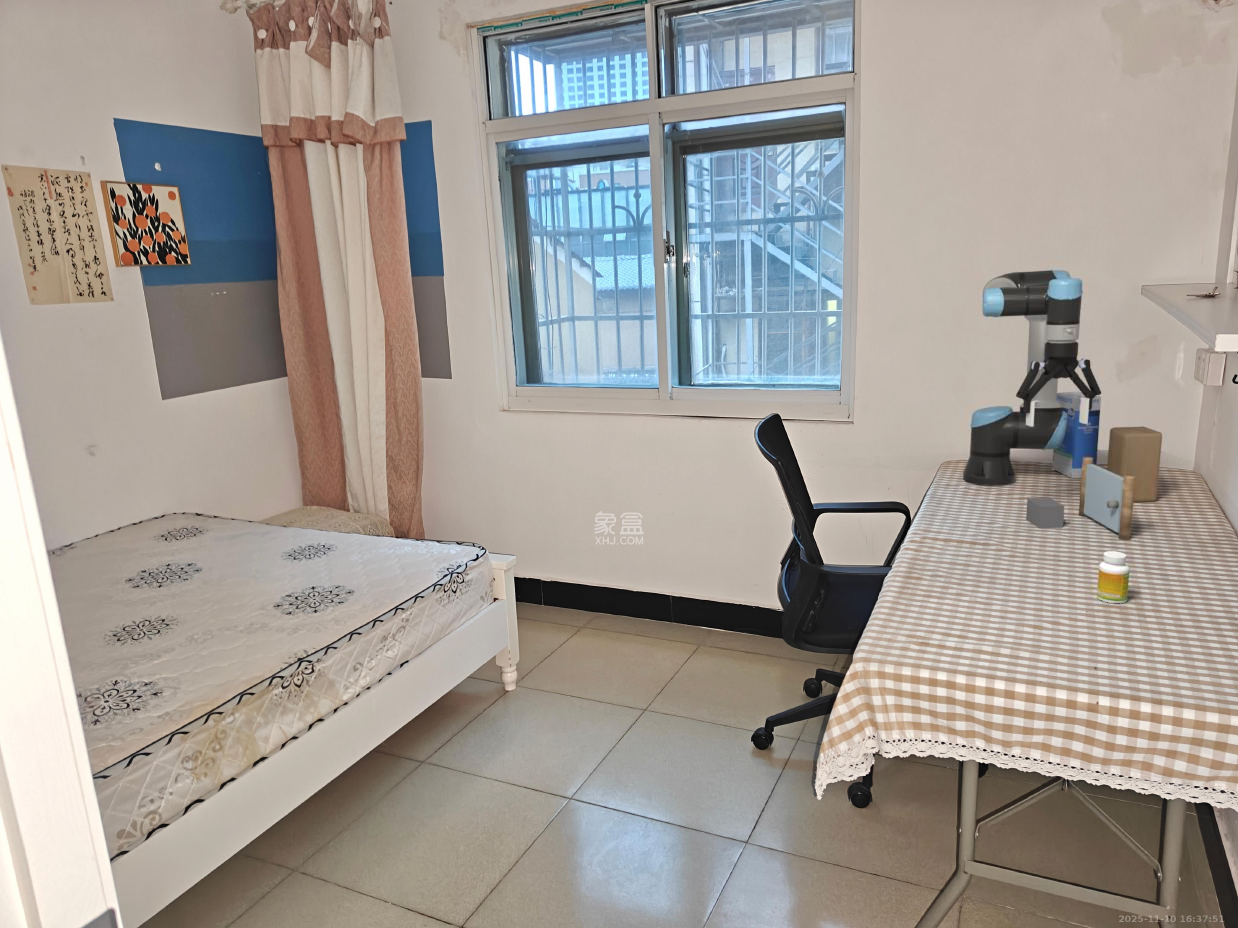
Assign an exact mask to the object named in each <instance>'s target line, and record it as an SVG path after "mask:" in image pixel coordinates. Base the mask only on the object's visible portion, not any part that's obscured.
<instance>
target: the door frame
mask: <svg viewBox="0 0 1238 928" xmlns="http://www.w3.org/2000/svg"><path fill="white" fill-rule="evenodd" d="M1087 464H1093V457H1083V461H1082V476H1081V478H1080V491H1079V503H1078V516H1080V517H1084V518H1085V517H1086V518H1087V517H1088V516H1087V515H1086V514H1084V502H1085V488H1086V474H1087ZM1134 488H1135V476H1134V475H1124V481H1123V493H1122V505H1121V517H1120V529H1119V532H1118V539H1119V540H1121V541H1130V540H1131V532H1132V524H1133V523H1132V521H1133V509H1134V502H1133V500H1134Z"/></svg>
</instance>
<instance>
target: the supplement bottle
mask: <svg viewBox="0 0 1238 928" xmlns="http://www.w3.org/2000/svg"><path fill="white" fill-rule="evenodd" d="M1102 558H1103V561H1102V562H1100V563H1099V565H1098V573H1097V574H1098V575H1097V587H1096V598H1097V599H1098V600H1099V601H1101V600H1102V602H1104V603H1107V602H1108V604H1114V603H1120V604H1124V603H1126V602H1127V600H1128V595H1129V594H1128V592H1129V583H1130V582H1129V581H1130V567H1129V566H1128V564H1126V563H1127V554H1125V553H1124V552H1120V551H1114V550H1113V551H1112V550H1109V551H1105V552H1103V557H1102Z"/></svg>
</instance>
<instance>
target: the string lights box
mask: <svg viewBox="0 0 1238 928" xmlns="http://www.w3.org/2000/svg"><path fill="white" fill-rule="evenodd" d="M1081 397H1085V396H1084V395H1083V393H1082V392H1081V391H1067V392H1057V401H1058V402H1059V403H1060V404H1061V405H1062V411H1064V412H1066V413H1067V425H1066V431H1065V435H1064V439H1063V442H1062V444H1061V446H1060V447H1059V448H1057V449H1053V454H1052V455H1053V456H1052V470H1053V469H1054V470H1056V471H1058V472H1057V473H1059V472H1060V473H1059V474H1061V473H1062V475H1064V476H1066V475H1067V476H1066V477H1068V478H1071V479H1073V480H1074V479H1076V480H1077V479H1081V476H1082V461H1083V457H1093V464H1094V465H1096V466H1097V463H1098V462H1097V461H1098V451H1099V450H1098V447H1099V431H1100V418H1101V417H1100V416H1101V404H1102V403H1101V402H1102V396H1100V395H1096V396H1095V398H1093V400H1092V409H1091V410H1089V411H1088V424H1083V423H1081V422H1079V418H1080V403H1081ZM1054 470H1053V471H1054ZM1056 471H1055V472H1056Z"/></svg>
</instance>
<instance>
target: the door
mask: <svg viewBox="0 0 1238 928" xmlns="http://www.w3.org/2000/svg"><path fill="white" fill-rule="evenodd" d="M1123 481H1124V478H1123V477H1121V476H1119V475H1116V474H1114V473H1112V472H1110V471H1107V469H1105V468H1103V467H1100V466H1098V465H1097V464H1096V465H1094V464H1087V474H1086V488H1085V502H1084V514H1086V515H1087V516H1086V517H1089V518H1091V519H1093V520H1095V521H1096V522H1098V523H1099V524H1102V525H1103V526H1105V527H1107V528H1109V529H1110V530H1112V531H1114V532H1115V533H1119V529H1120V517H1121V505H1122V493H1123Z"/></svg>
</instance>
